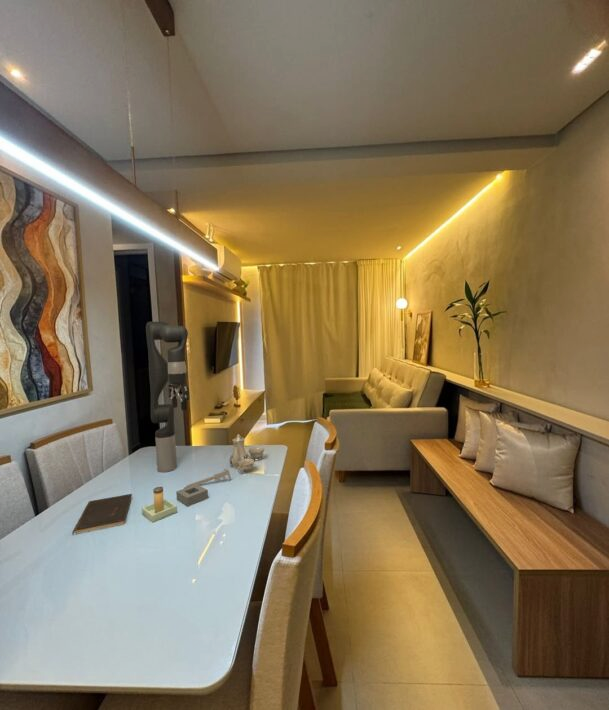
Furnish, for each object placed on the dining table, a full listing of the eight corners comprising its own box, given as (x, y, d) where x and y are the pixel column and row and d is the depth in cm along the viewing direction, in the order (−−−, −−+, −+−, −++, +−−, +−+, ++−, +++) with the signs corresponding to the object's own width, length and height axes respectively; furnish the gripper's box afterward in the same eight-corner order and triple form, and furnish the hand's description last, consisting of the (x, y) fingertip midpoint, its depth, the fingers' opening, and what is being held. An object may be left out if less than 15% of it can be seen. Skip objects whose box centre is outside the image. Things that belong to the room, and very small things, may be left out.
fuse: (153, 512, 130) (151, 488, 129) (161, 508, 132) (160, 485, 132) (156, 515, 127) (155, 491, 127) (165, 511, 130) (164, 488, 130)
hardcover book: (132, 499, 144) (131, 493, 144) (125, 526, 123) (124, 519, 123) (88, 507, 139) (87, 501, 139) (72, 536, 117) (72, 530, 117)
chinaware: (254, 479, 162) (256, 444, 162) (220, 476, 164) (222, 441, 163) (265, 458, 190) (267, 429, 189) (235, 456, 191) (237, 426, 191)
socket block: (176, 499, 140) (176, 491, 140) (196, 492, 147) (196, 484, 147) (187, 506, 134) (187, 497, 134) (208, 498, 141) (207, 489, 141)
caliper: (230, 480, 159) (229, 467, 158) (230, 481, 158) (229, 468, 157) (183, 488, 152) (182, 474, 152) (183, 489, 151) (182, 475, 150)
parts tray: (142, 514, 130) (141, 507, 129) (166, 505, 136) (165, 499, 136) (152, 522, 123) (152, 515, 123) (177, 512, 130) (176, 506, 130)
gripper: (161, 372, 152) (163, 408, 153) (176, 373, 142) (179, 412, 143) (177, 370, 157) (179, 405, 158) (193, 372, 147) (195, 409, 148)
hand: (179, 408), depth 151 cm, fingers open, 8 cm apart
